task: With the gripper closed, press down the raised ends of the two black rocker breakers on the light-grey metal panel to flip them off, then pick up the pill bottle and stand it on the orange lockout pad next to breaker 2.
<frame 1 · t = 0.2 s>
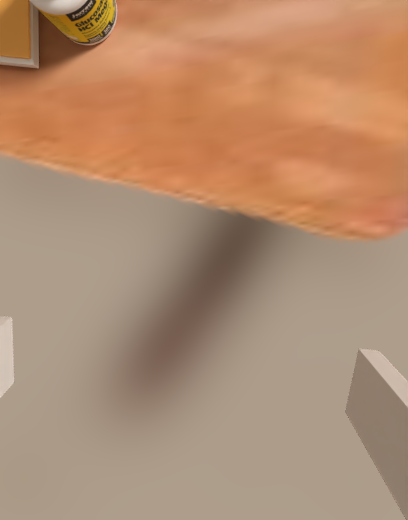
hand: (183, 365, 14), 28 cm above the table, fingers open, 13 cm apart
pill bottle: (88, 12, 36), on the table
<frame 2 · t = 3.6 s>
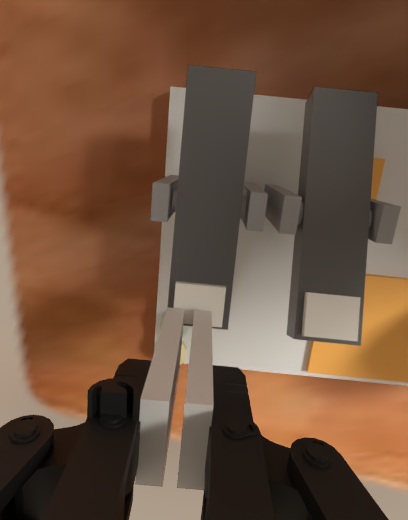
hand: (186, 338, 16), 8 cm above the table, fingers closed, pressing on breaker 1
breaker 2: (332, 215, 16), point 7 cm above the table, hinge at -20.0°
breaker panel: (299, 247, 23), on the table
breaker 1: (208, 204, 16), point 7 cm above the table, hinge at -7.6°, touching gripper
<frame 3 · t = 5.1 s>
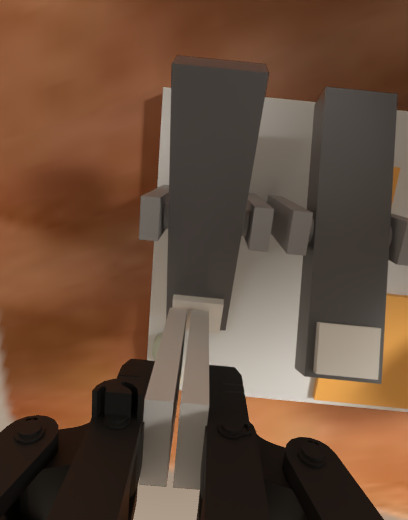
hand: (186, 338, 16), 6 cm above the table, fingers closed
breaker 2: (347, 232, 14), point 7 cm above the table, hinge at -20.0°
breaker panel: (305, 262, 21), on the table
breaker 1: (205, 222, 14), point 7 cm above the table, hinge at 22.3°, touching gripper
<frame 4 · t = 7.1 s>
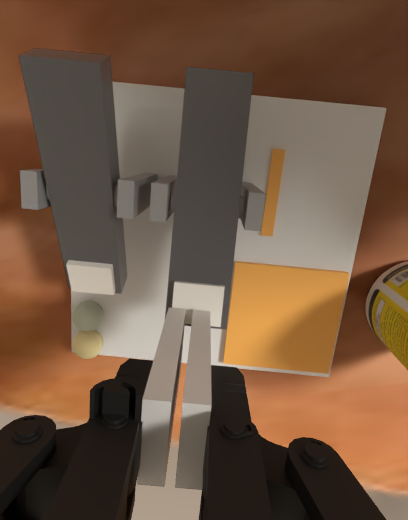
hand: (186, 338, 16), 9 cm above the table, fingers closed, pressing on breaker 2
breaker 2: (207, 204, 16), point 7 cm above the table, hinge at -8.9°, touching gripper
breaker panel: (212, 238, 24), on the table
breaker 1: (84, 194, 16), point 7 cm above the table, hinge at 22.8°
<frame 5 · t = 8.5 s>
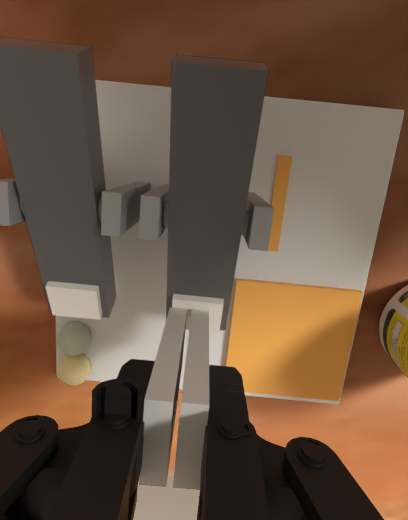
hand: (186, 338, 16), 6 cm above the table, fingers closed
breaker 2: (205, 221, 14), point 7 cm above the table, hinge at 21.7°, touching gripper
breaker panel: (211, 253, 21), on the table
breaker 1: (65, 207, 14), point 7 cm above the table, hinge at 22.8°
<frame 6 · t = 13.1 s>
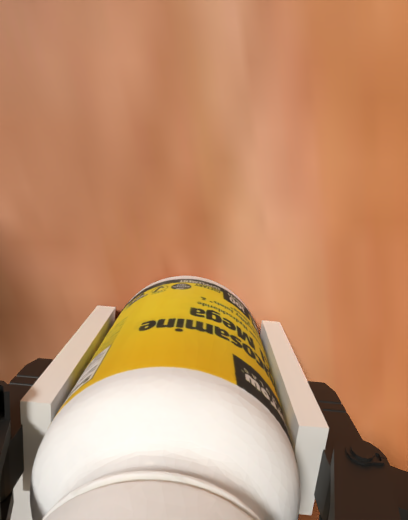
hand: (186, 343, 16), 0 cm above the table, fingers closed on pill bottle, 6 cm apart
pill bottle: (186, 336, 16), on the table, touching gripper
when the fingers open (3 cm above the table, at t = 17.5 s): pill bottle drops 1 cm, resting on breaker panel.
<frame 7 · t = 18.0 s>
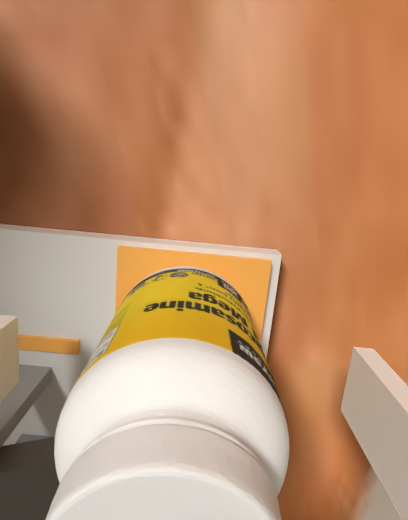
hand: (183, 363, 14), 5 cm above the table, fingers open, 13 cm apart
breaker panel: (100, 390, 20), on the table
pill bottle: (184, 323, 17), point 1 cm above the table, touching breaker panel
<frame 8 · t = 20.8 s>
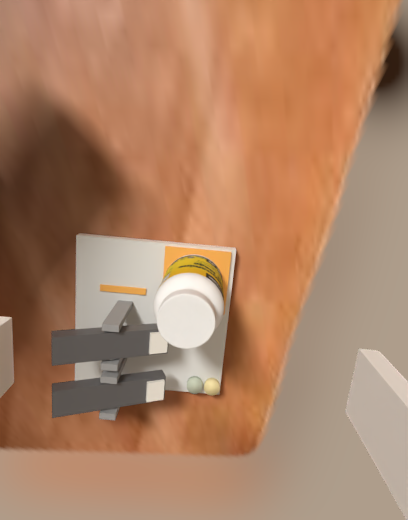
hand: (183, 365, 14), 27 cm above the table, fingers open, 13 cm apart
breaker 2: (112, 343, 36), point 7 cm above the table, hinge at 22.4°
breaker panel: (153, 315, 42), on the table
pill bottle: (193, 280, 39), point 1 cm above the table, touching breaker panel
breaker 1: (111, 393, 37), point 7 cm above the table, hinge at 22.8°
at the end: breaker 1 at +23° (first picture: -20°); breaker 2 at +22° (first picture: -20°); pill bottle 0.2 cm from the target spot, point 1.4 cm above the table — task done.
